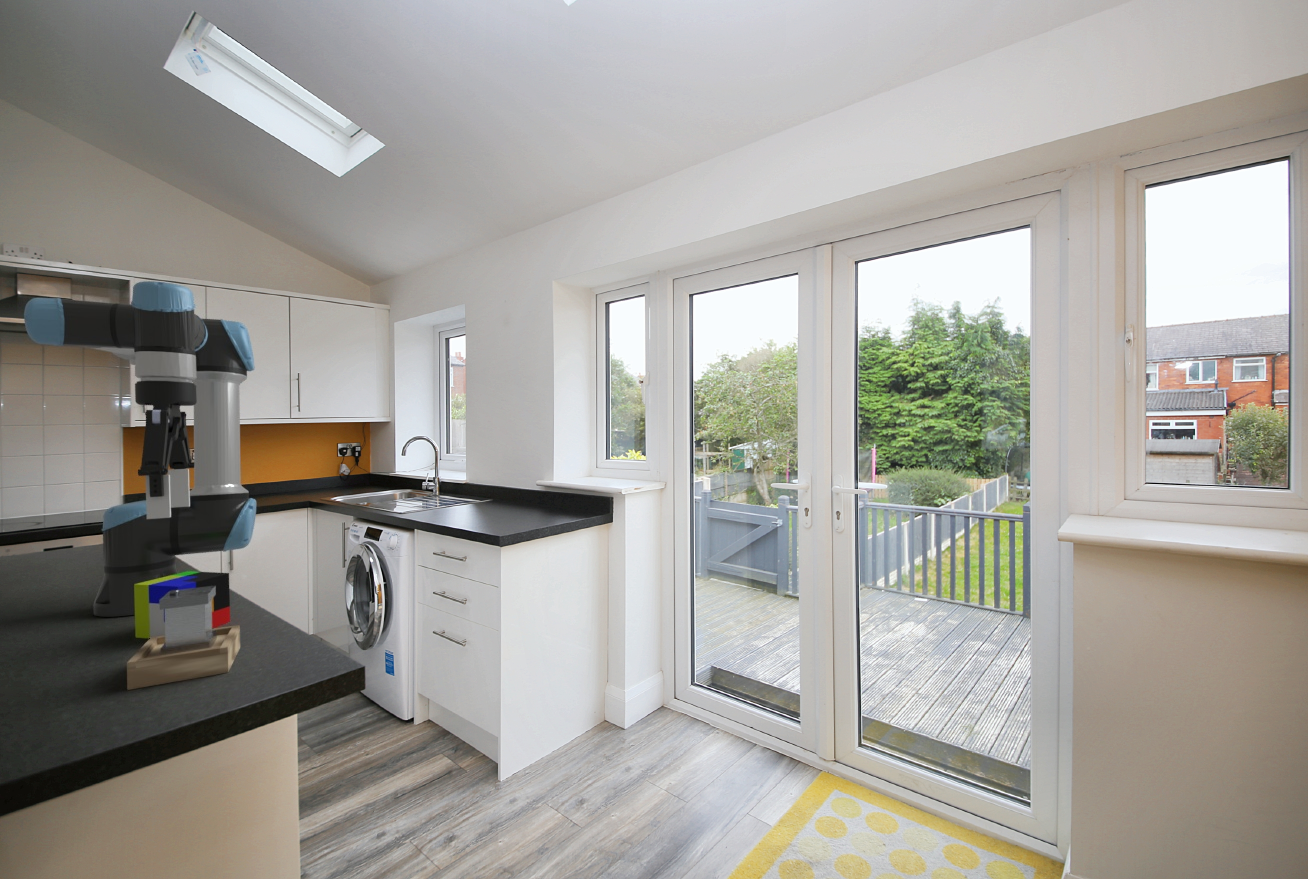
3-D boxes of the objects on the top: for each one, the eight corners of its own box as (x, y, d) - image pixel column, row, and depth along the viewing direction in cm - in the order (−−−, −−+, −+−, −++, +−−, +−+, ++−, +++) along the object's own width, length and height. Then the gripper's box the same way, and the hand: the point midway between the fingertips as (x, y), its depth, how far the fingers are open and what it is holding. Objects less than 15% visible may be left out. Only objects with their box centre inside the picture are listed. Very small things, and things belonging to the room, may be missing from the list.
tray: (151, 661, 94) (151, 637, 94) (240, 647, 100) (239, 624, 100) (127, 689, 84) (126, 662, 84) (228, 672, 90) (227, 647, 89)
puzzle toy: (179, 641, 104) (177, 586, 104) (135, 637, 106) (134, 584, 106) (230, 622, 114) (228, 573, 113) (189, 620, 116) (188, 571, 115)
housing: (216, 638, 96) (215, 582, 96) (209, 650, 91) (207, 590, 91) (171, 645, 93) (169, 587, 93) (160, 658, 88) (159, 596, 88)
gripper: (156, 385, 101) (159, 504, 101) (108, 374, 79) (113, 526, 80) (209, 386, 104) (212, 501, 105) (178, 376, 83) (182, 521, 83)
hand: (169, 512), depth 92 cm, fingers open, 13 cm apart
